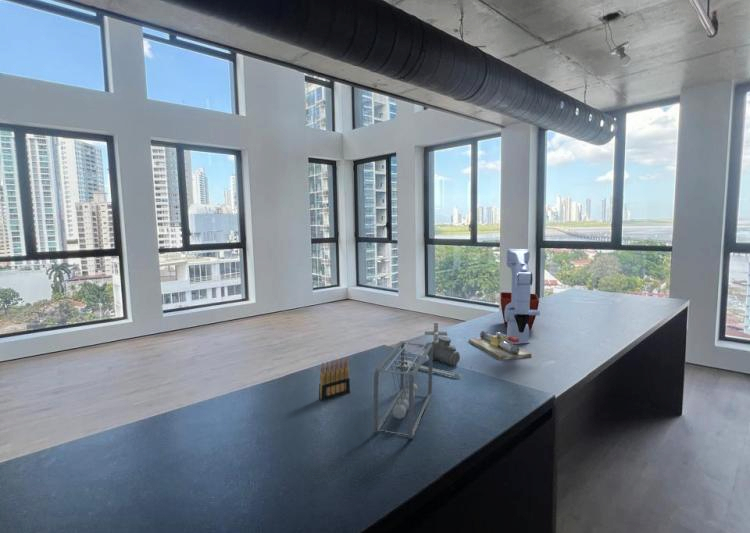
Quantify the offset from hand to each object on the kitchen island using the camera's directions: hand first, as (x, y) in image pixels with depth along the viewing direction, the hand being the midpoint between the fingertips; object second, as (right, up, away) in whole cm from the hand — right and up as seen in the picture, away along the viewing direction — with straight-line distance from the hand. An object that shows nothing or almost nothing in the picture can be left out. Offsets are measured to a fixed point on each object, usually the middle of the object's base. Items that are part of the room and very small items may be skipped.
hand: (521, 331), depth 172 cm
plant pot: (+16, -5, +49) cm, 52 cm away
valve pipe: (-7, -9, +9) cm, 14 cm away
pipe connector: (-34, -8, +16) cm, 38 cm away
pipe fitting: (-34, -11, -9) cm, 37 cm away
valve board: (-7, -9, +9) cm, 14 cm away
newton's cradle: (-53, -16, -53) cm, 76 cm away
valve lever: (-5, -3, +3) cm, 7 cm away
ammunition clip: (-75, -14, -41) cm, 87 cm away
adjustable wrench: (-42, -12, -19) cm, 48 cm away
